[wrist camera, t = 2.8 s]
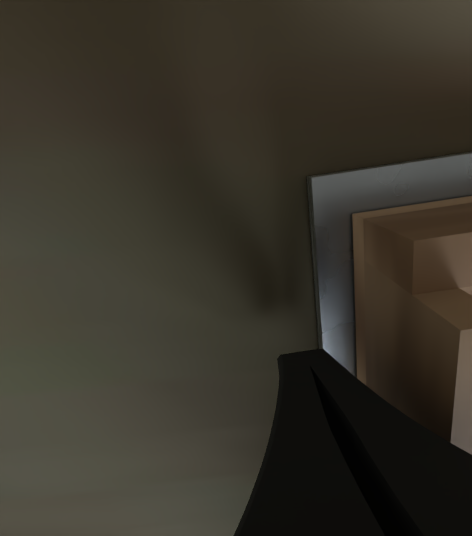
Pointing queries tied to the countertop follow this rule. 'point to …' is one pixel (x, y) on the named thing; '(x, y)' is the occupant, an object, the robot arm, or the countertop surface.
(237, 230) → the countertop surface
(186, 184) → the countertop surface
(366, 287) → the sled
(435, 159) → the track
